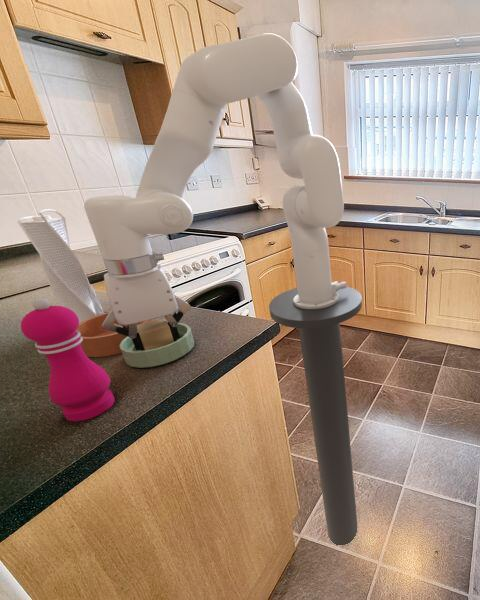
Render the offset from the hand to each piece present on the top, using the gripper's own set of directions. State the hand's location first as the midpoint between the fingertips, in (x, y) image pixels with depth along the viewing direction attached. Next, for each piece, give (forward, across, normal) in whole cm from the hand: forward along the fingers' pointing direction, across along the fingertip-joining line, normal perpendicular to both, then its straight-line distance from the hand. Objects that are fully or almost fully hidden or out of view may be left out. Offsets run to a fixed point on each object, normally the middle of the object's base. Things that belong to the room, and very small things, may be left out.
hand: (159, 346), depth 71 cm
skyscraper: (+2, +11, -29) cm, 31 cm away
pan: (+2, +6, -13) cm, 14 cm away
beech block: (0, 0, 0) cm, 0 cm away
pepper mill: (+2, +12, +12) cm, 17 cm away
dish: (+2, 0, 0) cm, 2 cm away
